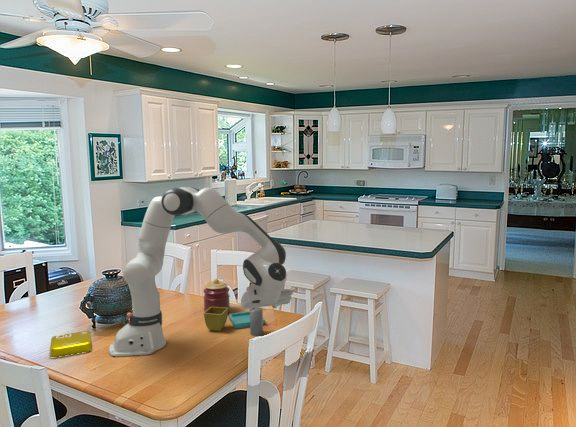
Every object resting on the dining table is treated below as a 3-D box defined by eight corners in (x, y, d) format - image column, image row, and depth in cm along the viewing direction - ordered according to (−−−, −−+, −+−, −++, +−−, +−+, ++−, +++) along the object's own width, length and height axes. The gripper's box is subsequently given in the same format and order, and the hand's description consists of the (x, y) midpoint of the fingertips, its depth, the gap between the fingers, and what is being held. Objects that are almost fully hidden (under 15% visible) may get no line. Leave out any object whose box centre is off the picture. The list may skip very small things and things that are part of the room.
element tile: (50, 360, 177) (49, 348, 176) (52, 345, 190) (51, 335, 190) (92, 352, 183) (91, 341, 183) (90, 339, 197) (90, 328, 196)
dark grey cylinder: (252, 336, 197) (251, 312, 195) (249, 331, 202) (248, 308, 201) (264, 334, 198) (263, 310, 197) (261, 330, 204) (260, 306, 202)
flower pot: (222, 333, 200) (221, 314, 199) (203, 332, 202) (203, 313, 201) (228, 326, 209) (228, 307, 208) (211, 325, 211) (210, 306, 210)
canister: (232, 308, 233) (231, 275, 231) (226, 317, 220) (225, 282, 218) (208, 307, 235) (207, 275, 232) (200, 316, 222) (199, 282, 220)
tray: (235, 329, 205) (235, 324, 205) (229, 318, 218) (229, 313, 218) (264, 325, 210) (264, 320, 209) (257, 315, 223) (257, 310, 223)
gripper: (292, 282, 182) (285, 298, 192) (242, 287, 175) (238, 304, 186) (296, 296, 178) (288, 312, 188) (245, 302, 172) (240, 318, 182)
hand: (263, 308), depth 187 cm, fingers open, 8 cm apart
